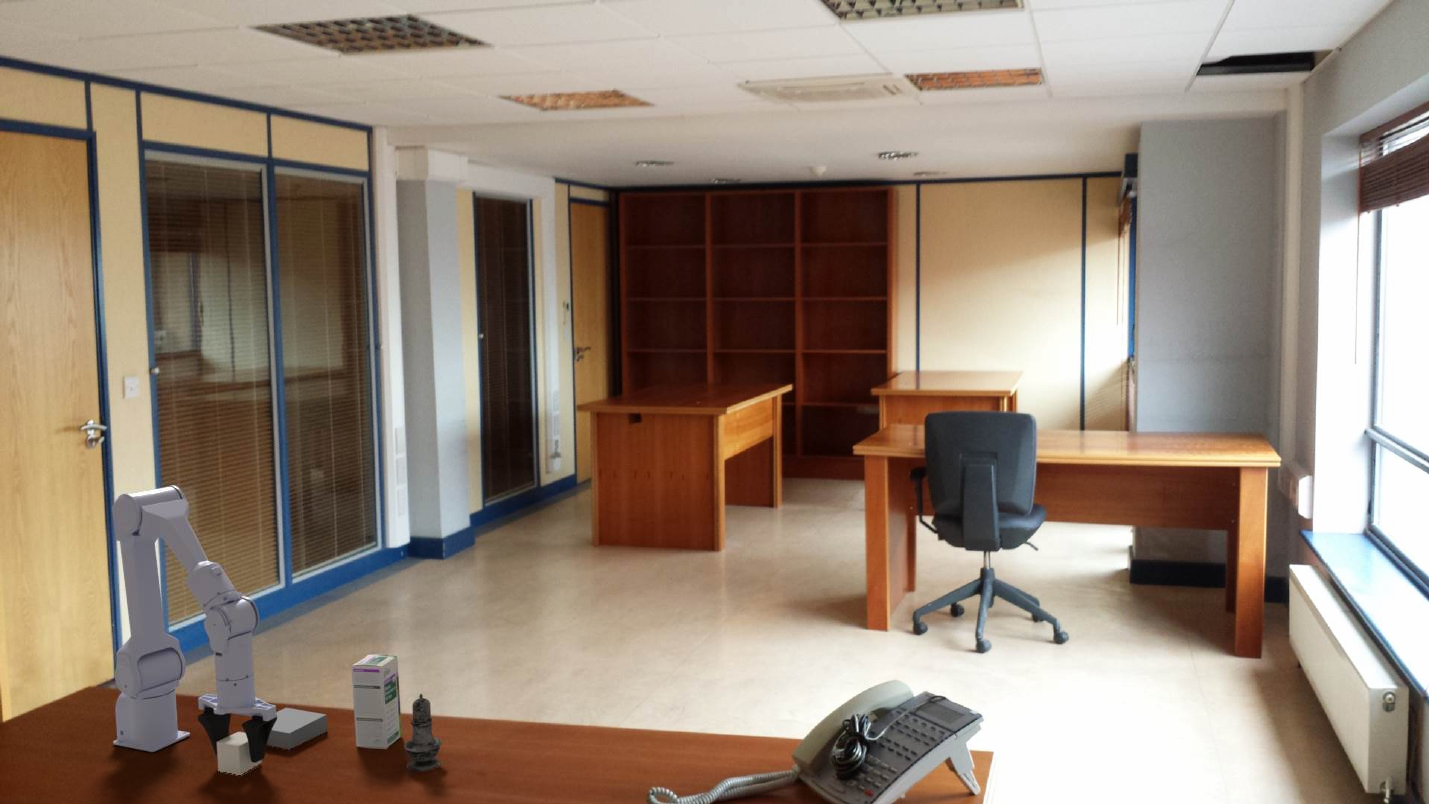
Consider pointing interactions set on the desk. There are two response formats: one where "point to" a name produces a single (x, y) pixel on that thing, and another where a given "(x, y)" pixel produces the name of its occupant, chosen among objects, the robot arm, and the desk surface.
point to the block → (296, 727)
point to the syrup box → (376, 701)
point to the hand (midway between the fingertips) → (239, 756)
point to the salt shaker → (422, 739)
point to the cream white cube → (234, 754)
